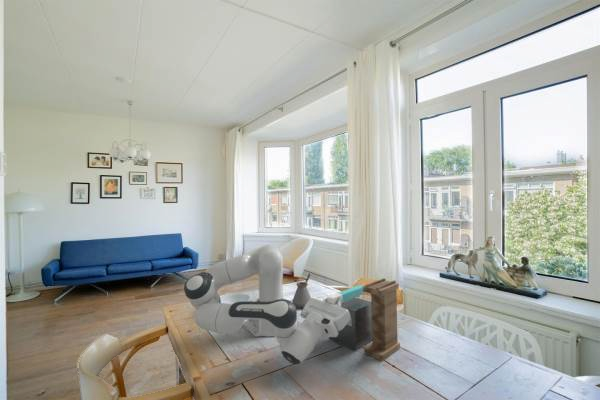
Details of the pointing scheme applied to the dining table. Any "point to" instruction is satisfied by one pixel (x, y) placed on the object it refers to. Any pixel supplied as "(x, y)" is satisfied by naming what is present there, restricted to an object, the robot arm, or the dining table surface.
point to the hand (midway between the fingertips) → (336, 297)
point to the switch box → (356, 325)
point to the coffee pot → (301, 294)
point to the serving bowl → (234, 298)
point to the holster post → (383, 318)
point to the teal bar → (346, 294)
